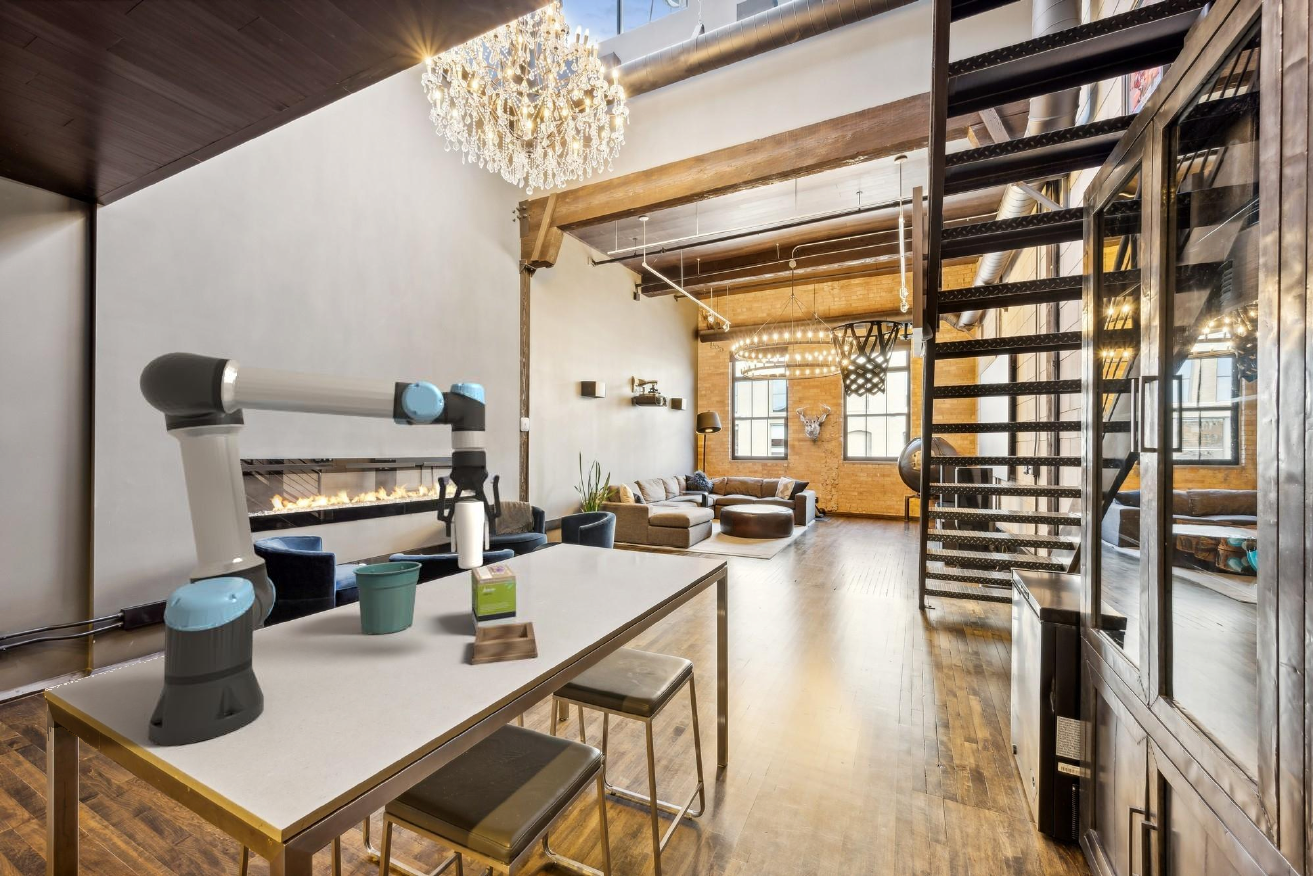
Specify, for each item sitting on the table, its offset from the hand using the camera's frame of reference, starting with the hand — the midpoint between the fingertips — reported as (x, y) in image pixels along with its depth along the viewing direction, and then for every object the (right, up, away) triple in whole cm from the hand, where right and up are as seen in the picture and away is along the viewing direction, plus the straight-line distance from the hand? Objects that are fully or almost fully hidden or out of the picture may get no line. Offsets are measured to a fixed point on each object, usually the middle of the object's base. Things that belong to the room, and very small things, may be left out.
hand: (470, 549), depth 123 cm
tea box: (-1, -25, +20) cm, 32 cm away
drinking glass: (0, -4, 0) cm, 4 cm away
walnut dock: (+8, -24, +1) cm, 25 cm away
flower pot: (-29, -25, +19) cm, 42 cm away
